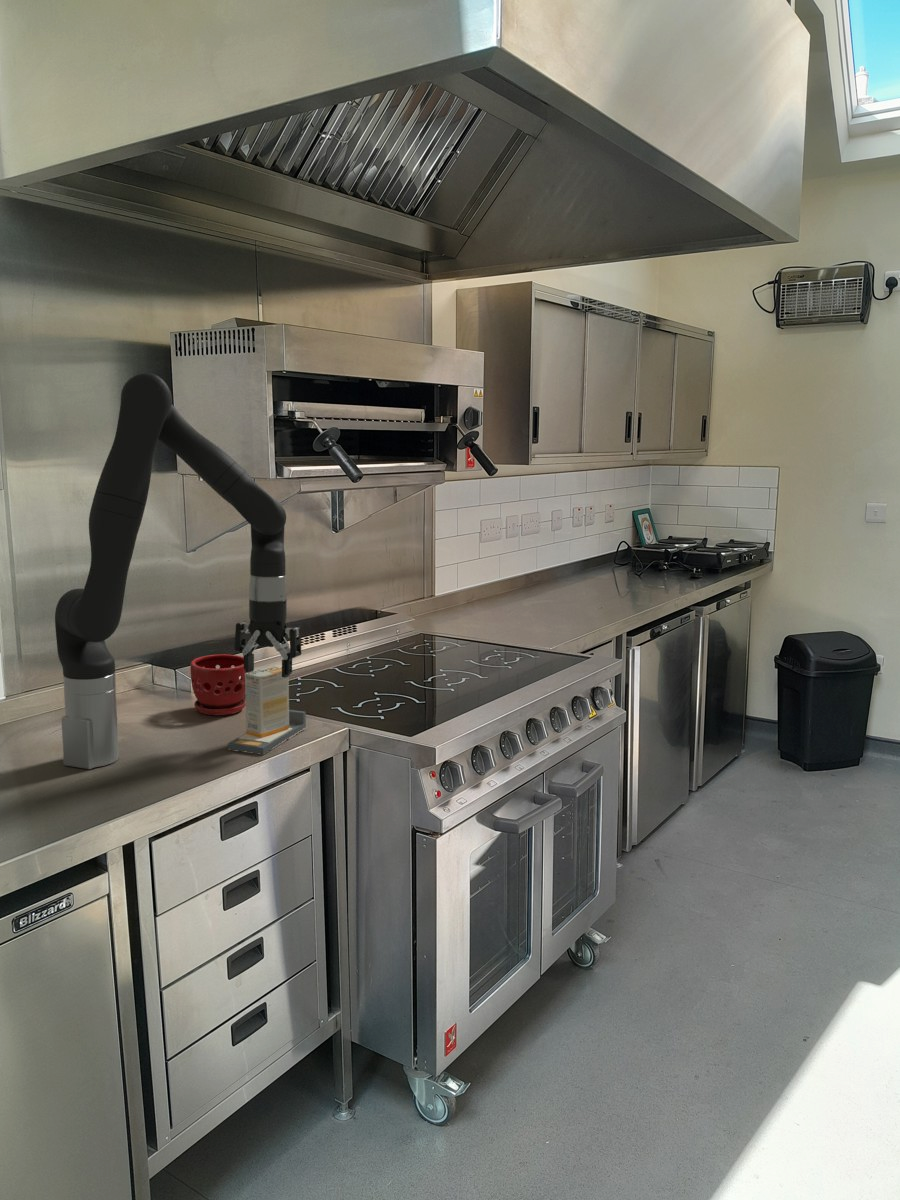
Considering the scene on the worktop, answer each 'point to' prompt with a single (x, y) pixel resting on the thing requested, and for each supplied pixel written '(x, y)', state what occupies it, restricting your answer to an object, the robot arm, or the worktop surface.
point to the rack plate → (269, 736)
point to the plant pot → (218, 684)
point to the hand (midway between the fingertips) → (267, 674)
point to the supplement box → (266, 701)
